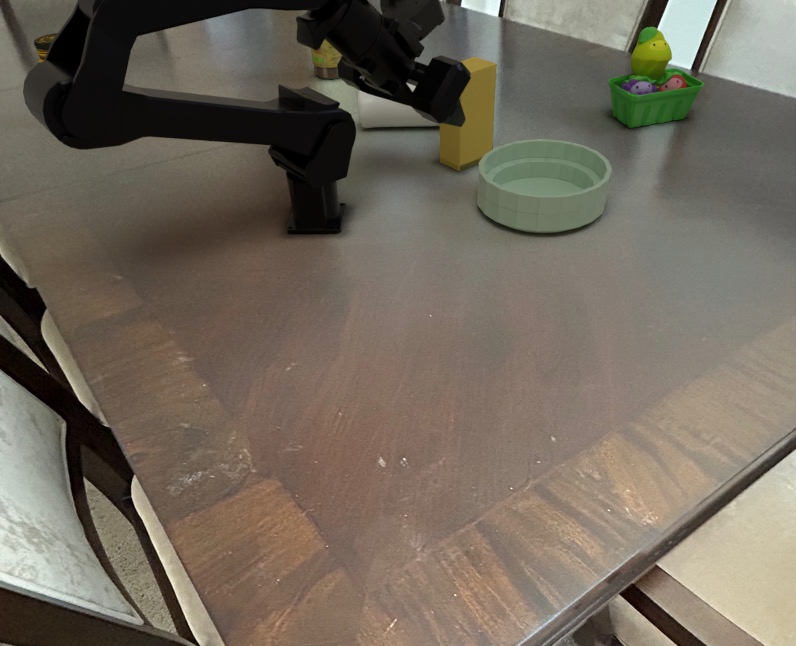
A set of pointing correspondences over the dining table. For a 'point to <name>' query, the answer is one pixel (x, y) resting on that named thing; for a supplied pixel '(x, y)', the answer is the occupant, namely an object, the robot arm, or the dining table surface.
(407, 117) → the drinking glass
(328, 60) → the sauce bottle
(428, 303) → the dining table surface
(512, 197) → the bowl
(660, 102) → the fruit basket
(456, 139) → the sponge
